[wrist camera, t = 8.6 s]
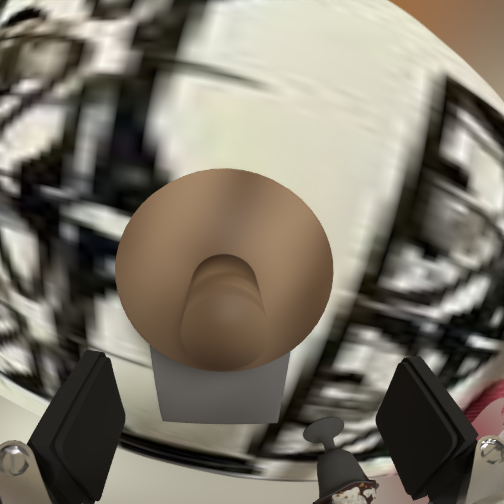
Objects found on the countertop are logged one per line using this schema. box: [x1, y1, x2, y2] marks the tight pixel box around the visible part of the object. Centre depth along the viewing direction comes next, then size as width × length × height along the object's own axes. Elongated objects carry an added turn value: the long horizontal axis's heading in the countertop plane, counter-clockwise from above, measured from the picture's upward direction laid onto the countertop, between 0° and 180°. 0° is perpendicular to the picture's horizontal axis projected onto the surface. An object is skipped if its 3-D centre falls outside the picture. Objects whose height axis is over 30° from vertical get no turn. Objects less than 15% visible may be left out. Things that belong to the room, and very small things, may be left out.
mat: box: [150, 345, 290, 424], centre depth 26 cm, size 12×12×1 cm
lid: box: [115, 169, 333, 372], centre depth 15 cm, size 12×12×6 cm
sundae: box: [303, 417, 379, 504], centre depth 23 cm, size 7×7×15 cm
